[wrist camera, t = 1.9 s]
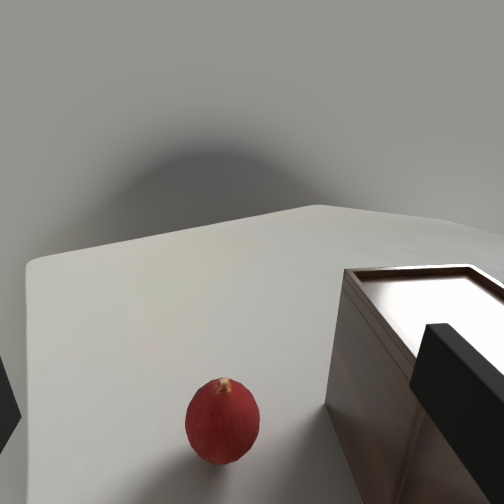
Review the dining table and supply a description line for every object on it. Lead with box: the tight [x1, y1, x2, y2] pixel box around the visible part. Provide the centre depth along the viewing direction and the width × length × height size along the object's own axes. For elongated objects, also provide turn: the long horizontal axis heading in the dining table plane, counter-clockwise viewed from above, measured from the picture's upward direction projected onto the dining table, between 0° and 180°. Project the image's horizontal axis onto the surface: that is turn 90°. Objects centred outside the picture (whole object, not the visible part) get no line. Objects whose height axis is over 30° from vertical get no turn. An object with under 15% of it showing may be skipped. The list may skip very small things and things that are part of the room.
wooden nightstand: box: [325, 264, 504, 504], centre depth 25 cm, size 11×12×15 cm
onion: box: [185, 378, 260, 464], centre depth 27 cm, size 6×6×8 cm
